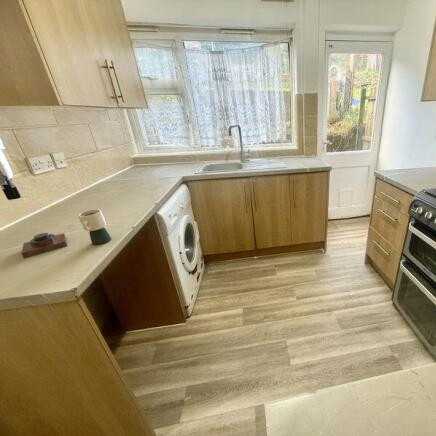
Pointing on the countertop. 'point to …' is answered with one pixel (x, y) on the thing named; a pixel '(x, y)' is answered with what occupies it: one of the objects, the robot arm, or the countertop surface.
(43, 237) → the button
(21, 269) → the countertop surface
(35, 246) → the button box
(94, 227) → the character mug
